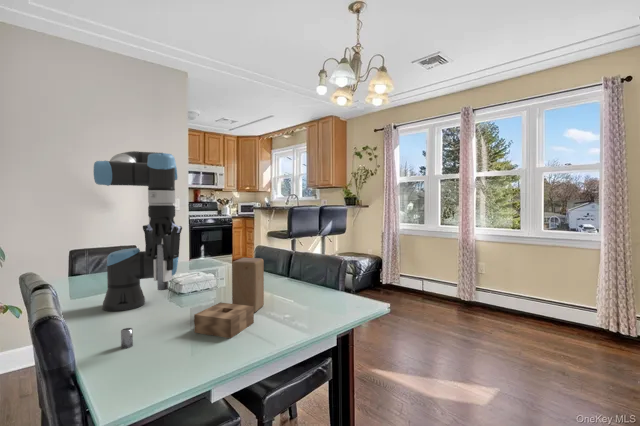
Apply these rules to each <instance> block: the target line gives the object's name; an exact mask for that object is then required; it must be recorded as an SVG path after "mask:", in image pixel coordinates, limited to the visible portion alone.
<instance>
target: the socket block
mask: <svg viewBox="0 0 640 426" xmlns="http://www.w3.org/2000/svg"><path fill="white" fill-rule="evenodd" d="M254 315H255V312H254V306H246V305H238V304H232V303H229V302H218V303H216V304H214V305H212V306H209V307H207V308H205V309H203V310H201V311H200V312H197V313H195V314H194V318H193V319H194V320H193V321H194V326H193V327H194V333H195V334H201V335H207V336H215V337H219V338H226V339H232V338H234V337H235V336H236V335H238V334H239V333H241V332H242V331H244V330H246V329H247V328H248V327H250V326H251V325H253V324H254V323H255V318H254Z"/></svg>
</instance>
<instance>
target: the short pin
mask: <svg viewBox="0 0 640 426" xmlns="http://www.w3.org/2000/svg"><path fill="white" fill-rule="evenodd" d="M133 337H134V336H133V328H132V327H126V328H122V329H121V330H120V346H121V347H120V348H121V349H125V350H126V349H130V348H132V347H133V346H134V342H133V341H134V340H133Z"/></svg>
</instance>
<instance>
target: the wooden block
mask: <svg viewBox="0 0 640 426" xmlns="http://www.w3.org/2000/svg"><path fill="white" fill-rule="evenodd" d="M264 261H265V260H264V259H263V258H262V257H261V258H258V257H241V258H238V259H236V260H233V261H232V263H231V288H232V289H231V294H232V295H231V296H232V297H231V298H232V299H231V300H232V301H231V304H238V305H246V306H254V313H256V312H257V311H259V310H260V309H261V308H262V307H263V306H264V305H265V294H264V293H265V291H264V289H265V286H264V284H265V282H264V281H265V279H264V276H265V273H264V272H265V271H264V269H265V266H264V265H265V264H264V263H265V262H264Z"/></svg>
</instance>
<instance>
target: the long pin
mask: <svg viewBox="0 0 640 426" xmlns="http://www.w3.org/2000/svg"><path fill="white" fill-rule="evenodd" d="M163 259H165V253H164V246H163V244H157V281H156V282H157V283H156V284H157V290H158V291H167V290H169V281H166V282H163Z"/></svg>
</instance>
